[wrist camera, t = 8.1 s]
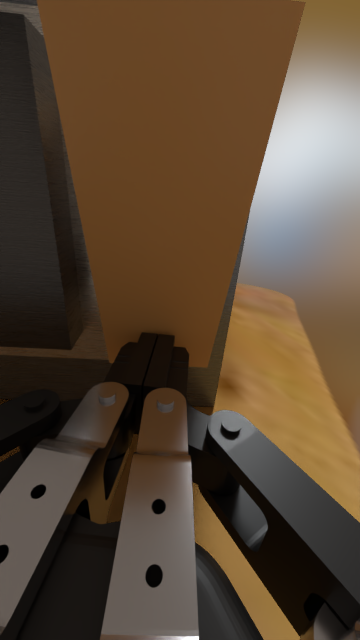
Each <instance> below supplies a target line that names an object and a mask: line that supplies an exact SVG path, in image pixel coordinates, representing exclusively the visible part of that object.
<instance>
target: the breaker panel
mask: <svg viewBox="0 0 360 640" xmlns="http://www.w3.org/2000/svg"><path fill="white" fill-rule="evenodd" d="M249 212H250V211H249ZM248 218H249V215H248ZM248 218H247V222H246V226H245V229H244V233H243V237H242V241H241V244H240V248H239V252H238V255H237V259H236V263H235V267H234V270H233V274H232V278H231V281H230V285H229V289H228V293H227V296H226V300H225V304H224V308H223V311H222V315H221V319H220V322H219V326H218V330H217V334H216V337H215V341H214V345H213V348H212V352H211V356H210V360H209V363H208V367H207V368H205V367H188V381H187V400H188V402H189V403H190V405H191V406H208V407H214V403H215V398H216V393H217V387H218V382H219V376H220V371H221V365H222V360H223V354H224V349H225V343H226V338H227V333H228V327H229V322H230V316H231V311H232V305H233V300H234V294H235V289H236V283H237V278H238V273H239V267H240V262H241V256H242V251H243V245H244V240H245V234H246V229H247V223H248ZM112 364H113V363H109V358H108V353H107V348H106V343H105V338H104V333H103V328H102V323H101V318H100V313H99V308H98V303H97V298H96V293H95V288H94V283H93V278H92V273H91V268H90V263H89V258H88V253H87V248H86V243H85V238H84V233H83V228H82V223H81V218H80V213H79V209H78V204H77V199H76V194H75V189H74V184H73V179H72V174H71V169H70V164H69V159H68V154H67V149H66V144H65V139H64V134H63V129H62V124H61V119H60V114H59V109H58V104H57V99H56V94H55V89H54V84H53V79H52V74H51V69H50V64H49V59H48V54H47V49H46V44H45V39H44V34H43V29H42V24H41V19H40V14H39V9H38V4H37V0H0V399H14V398H17V397H19V396H21V395H23V394H26V393H28V392H31V391H34V390H41V389H47V390H51V391H54V392H56V393H57V394H58V396H59V399H60V401H66V400H74V399H80V398H84V397H85V396H86V394H87V393H88V391H89V390H90V389H91V388H93V387H94V386H96V385H98V384H101V383H103V381H104V379H105V378H106V376H107V374H108V372H109V370H110V368H111V366H112Z"/></svg>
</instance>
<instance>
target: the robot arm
mask: <svg viewBox="0 0 360 640" xmlns="http://www.w3.org/2000/svg"><path fill="white" fill-rule="evenodd" d="M174 343H175V335H165V334H159V335H158V334H155V333H145V332H142V333H141V335H140V337H139V340H138V342H137V343H136V342H128V343H127V344H125V345H124V346H122V347H121V349H120V351H119V353H118V354H117V356H116V358H115V360H114V362H113V364H112V366H111V368H110V370H109V372H108V374H107V376H106V378H105V379H104V381H103V383H101V384H98V385H96V386H94V387H93V388H91V389H90V390H89V391H88V393H87V394H86V396H85V397H84V398H80V399H74V400H66V401H60V399H59V396H58V394H57V393H56V392H54V391H51V390H47V389H41V390H34V391H31V392H28V393H26V394H23V395H21V396H19V397H17V398H14V399H12V400H10V401H8V402H5V403H3V404H1V405H0V456H2V455H3V454H5V453H7V452H9V451H11V450H12V449H14V448H16V447H18V446H19V449H20V451H19V452H17V453H16V454H14V455H12V456H10V457H9V458H7V459H5V460H4V461H2V462H0V640H263V638H262V636H261V634H260V633H259V631H258V629H257V627H256V626H255V624H254V622H253V620H252V619H251V617H250V615H249V613H248V612H247V610H246V608H245V606H244V605H243V603H242V601H241V599H240V598H239V596H238V594H237V592H236V591H235V589H234V587H233V586H232V584H231V582H230V580H229V579H228V577H227V575H226V574H225V572H224V571H223V570H222V568H221V567H220V566H219V564H218V563H217V562H216V560H215V559H214V558H213V557H212V556H211V555H210V554H209V553H208V552H207V551H206V550H205V549H203V548H202V547H201V546H200V545H198V544H197V543H195V538H194V515H193V492H192V482H193V483H195V484H198V487H199V490H200V492H201V494H202V495H203V497H204V498H205V500H206V501H207V503H208V504H209V506H210V507H211V509H212V510H213V511H214V513H215V514H216V516H217V517H218V519H219V520H220V522H221V523H222V524H223V526H224V527H225V529H226V530H227V532H228V533H229V535H230V536H231V538H232V539H233V540H234V542H235V543H236V545H237V546H238V548H239V549H240V551H241V552H242V554H243V555H244V556H245V558H246V559H247V561H248V562H249V564H250V565H251V567H252V568H253V570H254V571H255V572H256V574H257V575H258V577H259V578H260V580H261V581H262V583H263V584H264V586H265V587H266V588H267V590H268V591H269V593H270V594H271V596H272V597H273V599H274V600H275V601H276V603H277V604H278V606H279V607H280V609H281V610H282V612H283V613H284V615H285V616H286V617H287V619H288V620H289V622H290V623H291V625H292V626H293V628H294V629H295V631H296V632H297V633H298V635H299V636H300V640H360V523H359V522H358V521H357V520H356V519H355V518H354V517H353V516H352V515H351V514H350V513H348V512H347V511H346V510H345V509H344V508H343V507H342V506H341V505H340V504H339V503H338V502H336V501H335V500H334V499H333V498H332V497H331V496H330V495H329V494H328V493H327V492H326V491H325V490H323V489H322V488H321V487H320V486H319V485H318V484H317V483H316V482H315V481H314V480H313V479H311V478H310V477H309V476H308V475H307V474H306V473H305V472H304V471H303V470H302V469H301V468H300V467H298V466H297V465H296V464H295V463H294V462H293V461H292V460H291V459H290V458H289V457H288V456H286V455H285V454H284V453H283V452H282V451H281V450H280V449H279V448H278V447H277V446H276V445H275V444H273V443H272V442H271V441H270V440H269V439H268V438H267V437H266V436H265V435H264V434H263V433H261V432H260V431H259V430H258V429H257V428H256V427H255V426H254V425H253V424H252V423H251V422H250V421H248V420H247V419H246V418H245V417H244V416H242V415H241V414H239V413H237V412H234V411H229V410H221V411H218V412H215V413H214V414H212V415H211V416H209V415H206V414H204V413H201V412H199V411H197V410H196V409H195V408H193V407H192V406H191V405H190V403H189V402H188V400H187V381H188V367H189V353H188V351H187V350H186V348H185V347H175V346H174ZM133 434H139V437H138V443H137V449H136V452H134V454H133V457H132V462H131V468H130V474H129V479H128V485H127V490H126V496H125V502H124V507H123V513H122V519H121V521H118V522H112V523H107V517H108V512H109V508H110V505H111V502H112V499H113V496H114V494H115V491H116V488H117V485H118V483H119V480H120V477H121V474H122V472H123V469H124V466H125V463H126V461H127V458H128V455H129V451H130V444H131V441H132V437H133Z"/></svg>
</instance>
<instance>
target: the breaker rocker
mask: <svg viewBox="0 0 360 640" xmlns="http://www.w3.org/2000/svg"><path fill="white" fill-rule="evenodd" d="M37 4H38V9H39V14H40V19H41V24H42V29H43V34H44V39H45V44H46V49H47V54H48V59H49V64H50V69H51V74H52V79H53V84H54V89H55V94H56V99H57V104H58V109H59V114H60V119H61V124H62V129H63V134H64V139H65V144H66V149H67V154H68V159H69V164H70V169H71V174H72V179H73V184H74V189H75V194H76V199H77V204H78V209H79V213H80V218H81V223H82V228H83V233H84V238H85V243H86V248H87V253H88V258H89V263H90V268H91V273H92V278H93V283H94V288H95V293H96V298H97V303H98V308H99V313H100V318H101V323H102V328H103V333H104V338H105V343H106V348H107V353H108V358H109V363H113V362H114V360H115V358H116V356H117V354H118V353H119V351H120V349H121V347H122V346H124V345H125V344H127V343H128V342H136V343H137V342H138V340H139V337H140V335H141V333H142V332H145V333H155V334H158V335H159V334H165V335H175V343H174V346H175V347H185V348H186V350H187V351H188V353H189V367H205V368H207V367H208V363H209V360H210V356H211V352H212V348H213V345H214V341H215V337H216V334H217V330H218V326H219V322H220V319H221V315H222V311H223V308H224V304H225V300H226V296H227V293H228V289H229V285H230V281H231V278H232V274H233V270H234V267H235V263H236V259H237V255H238V252H239V248H240V244H241V241H242V237H243V233H244V229H245V226H246V222H247V218H248V215H249V211H250V207H251V203H252V200H253V195H254V192H255V188H256V185H257V181H258V177H259V173H260V169H261V166H262V162H263V159H264V155H265V151H266V147H267V144H268V140H269V136H270V132H271V129H272V125H273V121H274V118H275V114H276V110H277V107H278V103H279V99H280V95H281V92H282V88H283V84H284V81H285V77H286V73H287V69H288V65H289V61H290V58H291V55H292V50H293V47H294V43H295V40H296V36H297V32H298V28H299V25H300V21H301V17H302V14H303V10H304V6H305V2H299V1H291V0H37Z"/></svg>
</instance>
